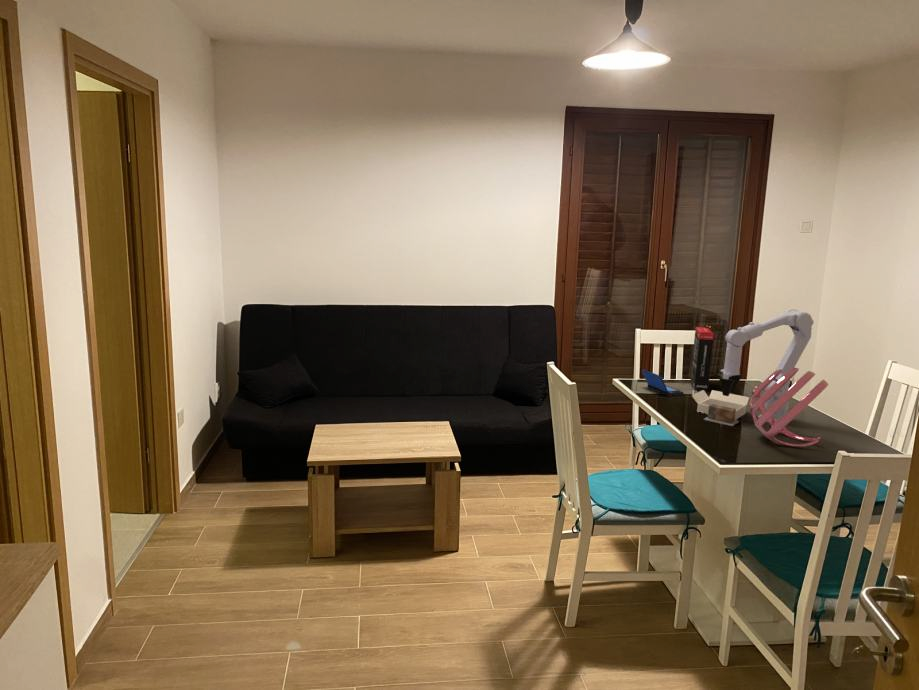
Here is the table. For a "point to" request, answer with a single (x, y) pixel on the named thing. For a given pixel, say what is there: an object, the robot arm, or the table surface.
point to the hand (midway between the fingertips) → (728, 393)
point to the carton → (721, 402)
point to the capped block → (721, 413)
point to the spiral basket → (768, 414)
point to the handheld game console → (659, 384)
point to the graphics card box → (701, 358)
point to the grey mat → (722, 422)
